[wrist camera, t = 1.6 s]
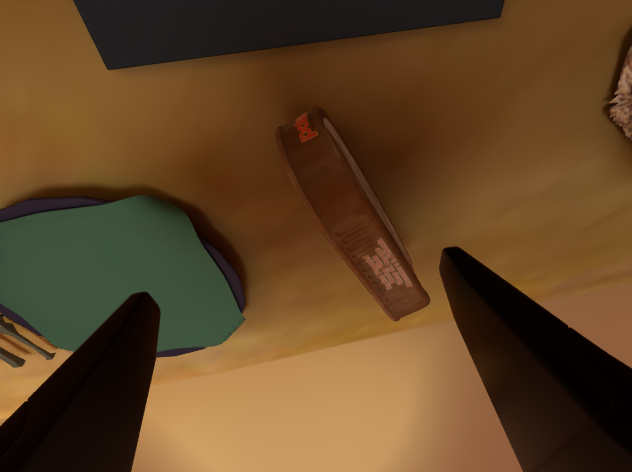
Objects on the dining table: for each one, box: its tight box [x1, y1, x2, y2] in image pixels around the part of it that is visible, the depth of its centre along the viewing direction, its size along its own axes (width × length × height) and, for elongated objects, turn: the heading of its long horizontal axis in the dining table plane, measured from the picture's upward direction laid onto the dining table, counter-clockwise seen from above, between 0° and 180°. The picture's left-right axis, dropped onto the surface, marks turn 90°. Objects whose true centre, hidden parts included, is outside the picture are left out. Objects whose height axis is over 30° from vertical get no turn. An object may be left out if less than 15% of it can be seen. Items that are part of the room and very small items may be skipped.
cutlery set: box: [0, 195, 246, 368], centre depth 27 cm, size 20×30×2 cm, turn 100°
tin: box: [275, 107, 430, 322], centre depth 20 cm, size 15×3×8 cm, turn 31°
